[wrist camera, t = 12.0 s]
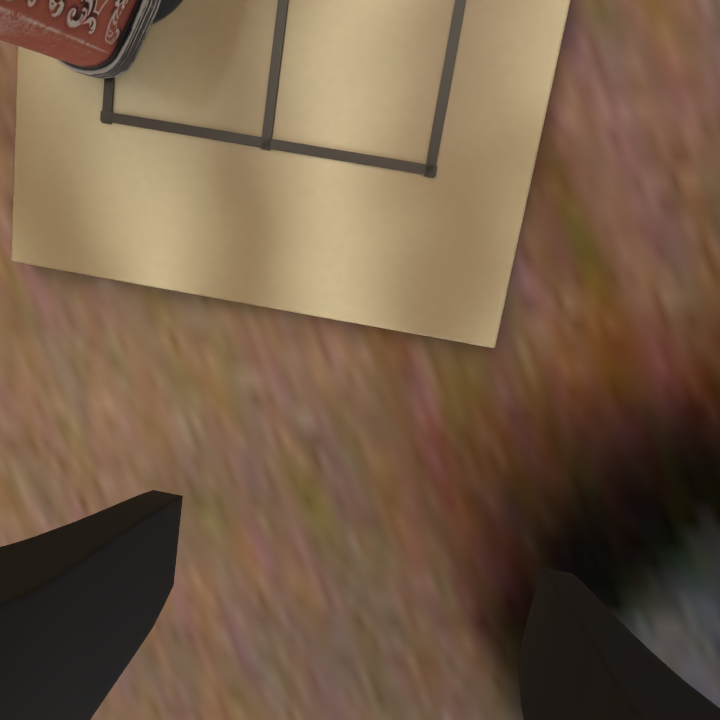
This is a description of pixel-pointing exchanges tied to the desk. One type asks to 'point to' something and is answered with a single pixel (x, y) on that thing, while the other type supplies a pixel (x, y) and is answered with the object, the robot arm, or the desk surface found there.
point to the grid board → (298, 157)
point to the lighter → (80, 31)
